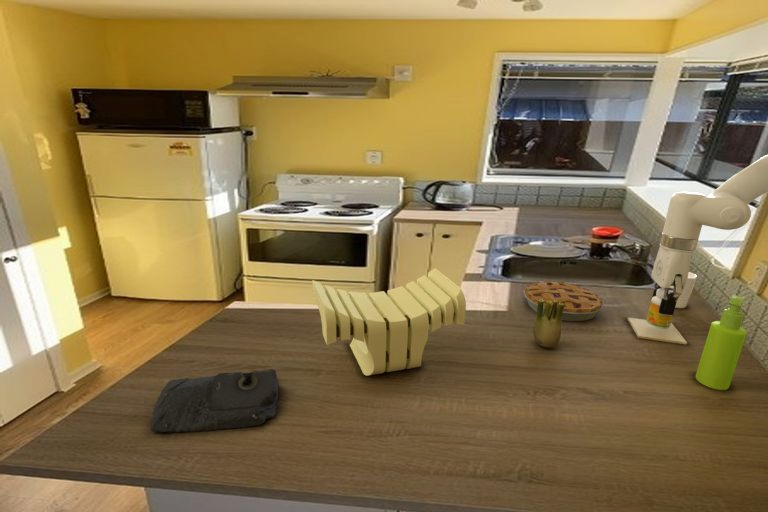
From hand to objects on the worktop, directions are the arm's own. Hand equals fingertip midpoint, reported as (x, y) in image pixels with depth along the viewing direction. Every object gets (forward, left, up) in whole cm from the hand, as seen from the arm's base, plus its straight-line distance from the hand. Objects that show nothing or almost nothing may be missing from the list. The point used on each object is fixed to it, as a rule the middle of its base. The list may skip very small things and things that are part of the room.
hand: (661, 308), depth 111 cm
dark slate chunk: (+91, +60, -7) cm, 109 cm away
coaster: (0, 0, -7) cm, 7 cm away
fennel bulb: (+29, +17, -7) cm, 34 cm away
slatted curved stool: (+65, +35, -7) cm, 74 cm away
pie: (+23, -8, -7) cm, 25 cm away
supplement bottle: (0, 0, -5) cm, 5 cm away
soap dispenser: (-4, +23, -7) cm, 24 cm away
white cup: (-11, -22, -7) cm, 26 cm away
